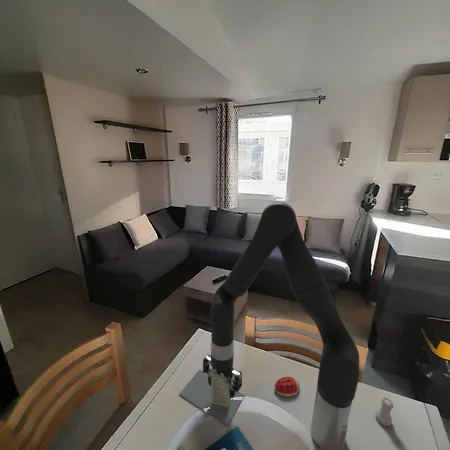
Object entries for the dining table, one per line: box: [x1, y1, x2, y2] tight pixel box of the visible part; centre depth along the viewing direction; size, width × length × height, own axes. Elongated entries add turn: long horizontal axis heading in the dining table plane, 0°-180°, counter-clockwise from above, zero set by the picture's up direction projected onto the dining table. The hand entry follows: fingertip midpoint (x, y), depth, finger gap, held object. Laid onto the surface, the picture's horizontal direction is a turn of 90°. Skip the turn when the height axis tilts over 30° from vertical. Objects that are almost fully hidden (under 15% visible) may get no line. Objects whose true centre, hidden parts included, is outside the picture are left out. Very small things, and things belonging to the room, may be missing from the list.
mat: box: [178, 369, 246, 428], centre depth 83 cm, size 20×12×1 cm, turn 59°
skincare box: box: [211, 373, 231, 407], centre depth 80 cm, size 6×4×12 cm
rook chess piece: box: [375, 396, 394, 427], centre depth 75 cm, size 4×4×8 cm
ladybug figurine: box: [273, 376, 301, 398], centre depth 86 cm, size 7×10×4 cm
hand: (221, 389), depth 80 cm, fingers open, 8 cm apart
